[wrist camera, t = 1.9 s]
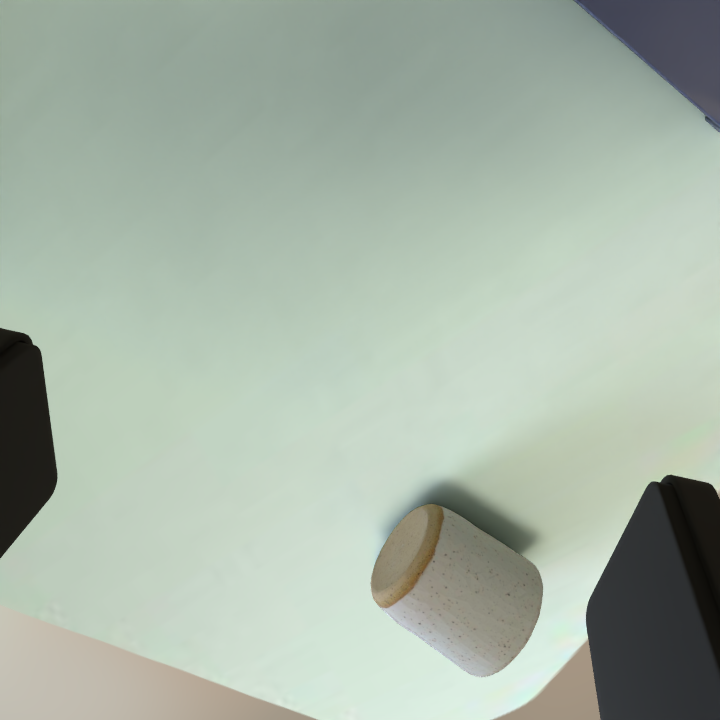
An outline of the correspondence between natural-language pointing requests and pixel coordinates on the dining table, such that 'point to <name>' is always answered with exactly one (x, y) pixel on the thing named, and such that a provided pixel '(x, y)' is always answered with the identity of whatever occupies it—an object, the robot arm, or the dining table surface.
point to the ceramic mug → (458, 589)
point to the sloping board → (671, 43)
